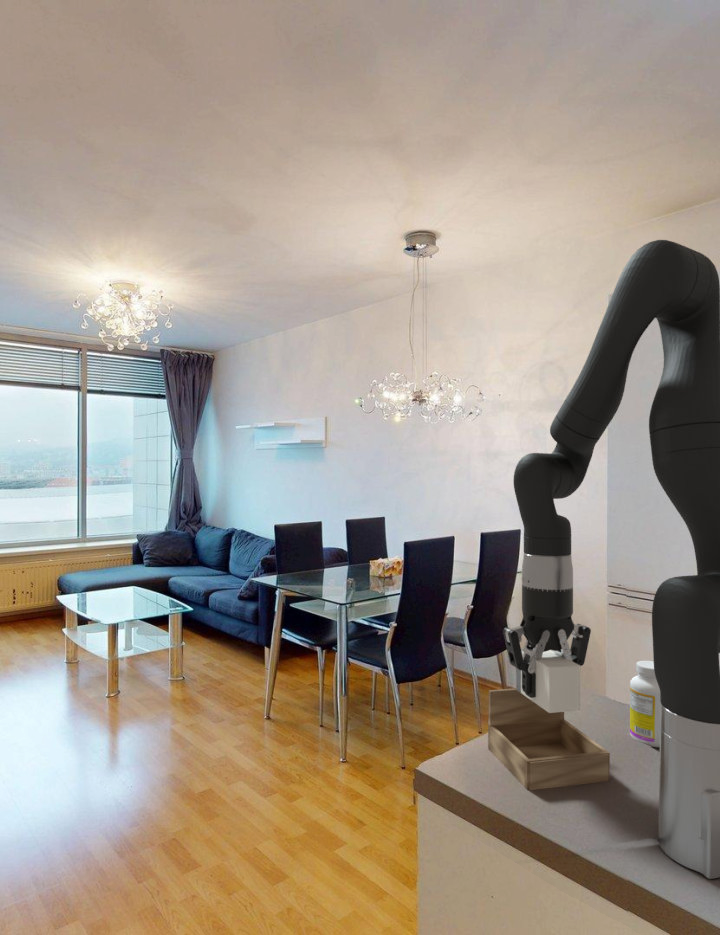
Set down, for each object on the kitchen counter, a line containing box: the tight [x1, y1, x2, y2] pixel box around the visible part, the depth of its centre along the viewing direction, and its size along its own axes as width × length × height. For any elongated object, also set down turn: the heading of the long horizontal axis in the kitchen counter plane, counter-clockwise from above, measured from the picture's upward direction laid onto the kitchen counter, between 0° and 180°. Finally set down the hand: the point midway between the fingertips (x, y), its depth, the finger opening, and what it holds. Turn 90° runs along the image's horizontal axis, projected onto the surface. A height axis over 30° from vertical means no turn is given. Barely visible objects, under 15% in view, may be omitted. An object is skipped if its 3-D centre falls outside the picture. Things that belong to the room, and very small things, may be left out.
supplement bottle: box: [629, 660, 660, 748], centre depth 105 cm, size 7×7×13 cm
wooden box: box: [487, 687, 611, 791], centre depth 95 cm, size 13×13×10 cm
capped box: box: [515, 648, 581, 713], centre depth 95 cm, size 10×5×6 cm, turn 13°
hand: (547, 694), depth 95 cm, fingers closed on capped box, 5 cm apart
